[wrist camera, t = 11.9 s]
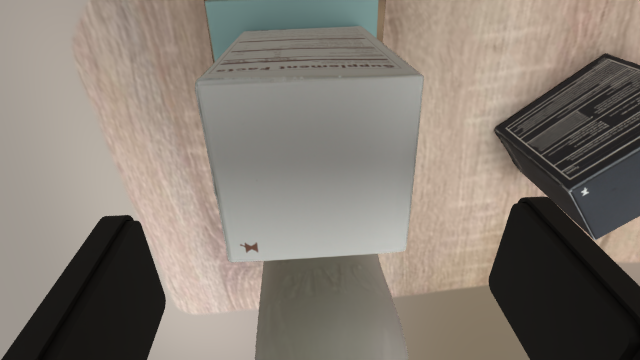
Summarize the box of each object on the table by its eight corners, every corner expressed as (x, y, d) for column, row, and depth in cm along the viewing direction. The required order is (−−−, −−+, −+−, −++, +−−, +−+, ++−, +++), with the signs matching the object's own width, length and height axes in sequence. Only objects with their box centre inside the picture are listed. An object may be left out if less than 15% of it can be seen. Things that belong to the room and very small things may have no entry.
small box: (520, 174, 37) (594, 246, 28) (491, 128, 34) (564, 191, 25) (628, 107, 34) (752, 162, 25) (607, 49, 31) (737, 89, 22)
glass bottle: (282, 265, 40) (272, 713, 17) (255, 187, 35) (180, 683, 11) (372, 247, 40) (494, 682, 16) (358, 166, 35) (508, 635, 11)
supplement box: (360, 136, 26) (408, 259, 15) (253, 141, 26) (222, 269, 15) (365, 22, 22) (432, 73, 11) (240, 25, 22) (185, 80, 11)
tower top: (215, -5, 24) (204, 1, 21) (368, -10, 25) (378, -5, 22) (236, 136, 29) (230, 157, 26) (362, 130, 30) (370, 149, 27)
